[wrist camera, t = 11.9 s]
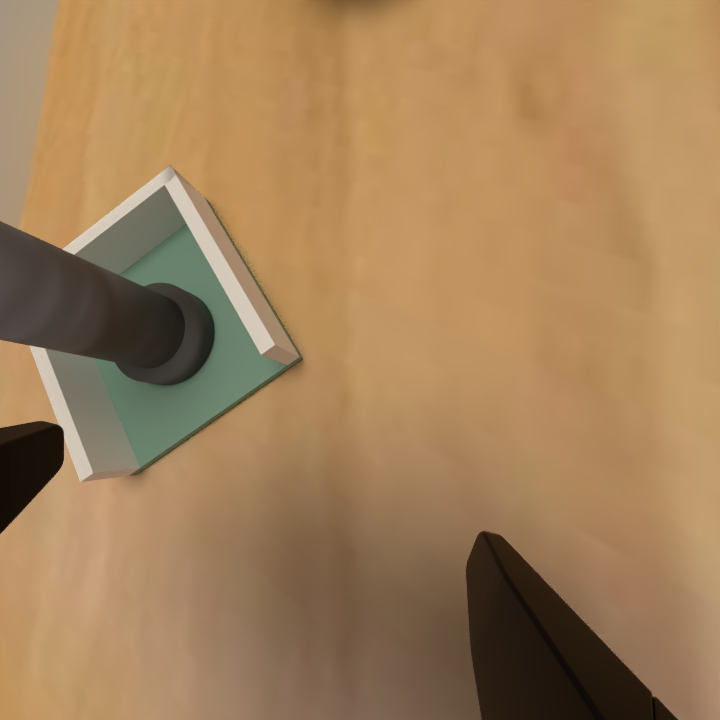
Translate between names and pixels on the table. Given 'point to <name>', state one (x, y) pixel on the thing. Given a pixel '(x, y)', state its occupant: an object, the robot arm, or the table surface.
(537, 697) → the robot arm
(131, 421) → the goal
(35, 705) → the table surface
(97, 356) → the player figure
